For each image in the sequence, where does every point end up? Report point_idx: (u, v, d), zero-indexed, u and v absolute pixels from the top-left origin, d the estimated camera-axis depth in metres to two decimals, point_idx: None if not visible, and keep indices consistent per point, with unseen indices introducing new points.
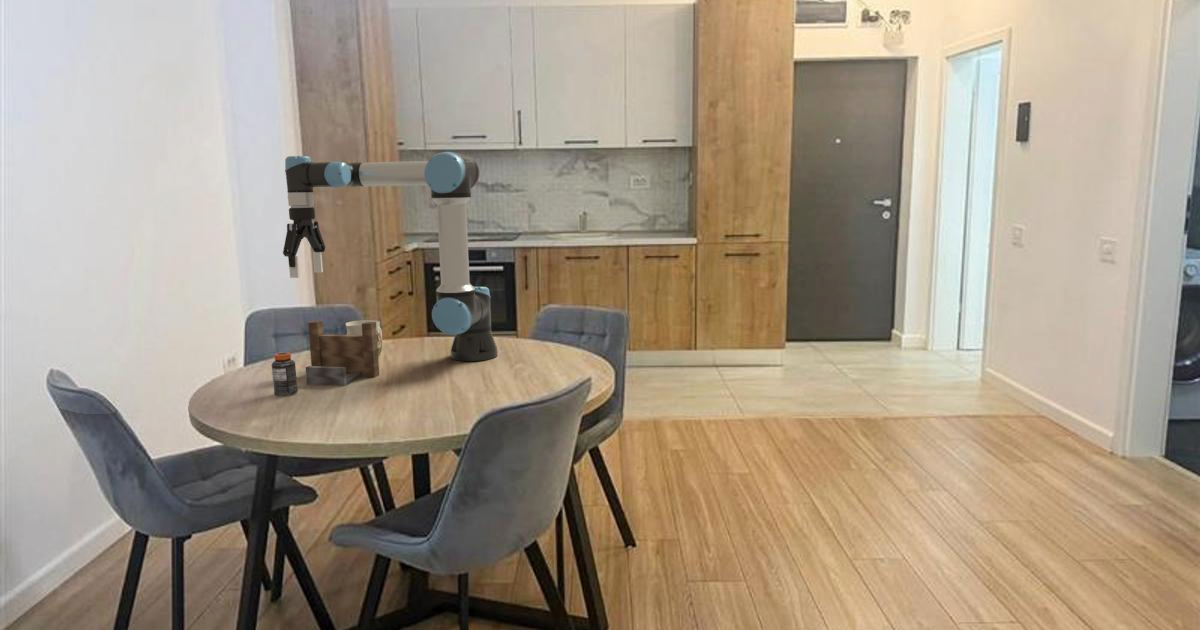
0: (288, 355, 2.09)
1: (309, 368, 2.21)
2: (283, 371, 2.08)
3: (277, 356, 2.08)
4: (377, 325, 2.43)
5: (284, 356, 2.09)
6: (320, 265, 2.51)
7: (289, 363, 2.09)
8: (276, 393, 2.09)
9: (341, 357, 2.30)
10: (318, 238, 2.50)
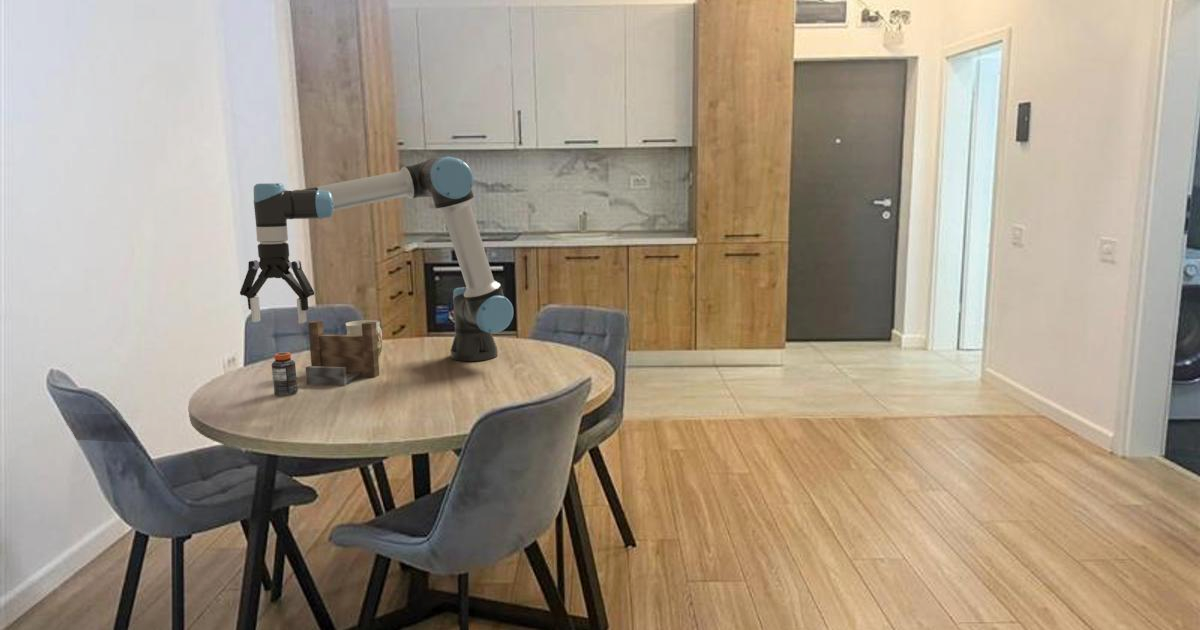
0: (288, 355, 2.09)
1: (309, 368, 2.21)
2: (283, 371, 2.08)
3: (277, 356, 2.08)
4: (377, 325, 2.43)
5: (284, 356, 2.09)
6: None
7: (289, 363, 2.09)
8: (276, 393, 2.09)
9: (341, 357, 2.30)
10: None
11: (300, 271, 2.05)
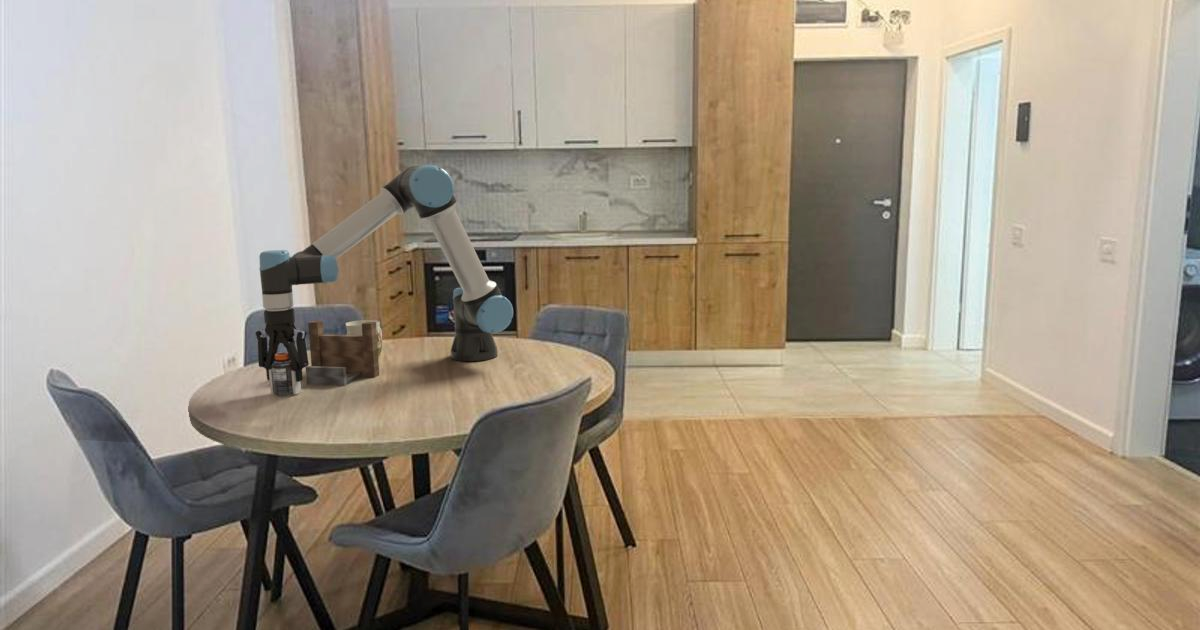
0: (288, 355, 2.09)
1: (309, 368, 2.21)
2: (283, 371, 2.08)
3: (277, 356, 2.08)
4: (377, 325, 2.43)
5: (284, 356, 2.09)
6: None
7: (289, 363, 2.09)
8: (276, 393, 2.09)
9: (341, 357, 2.30)
10: None
11: (303, 342, 2.08)
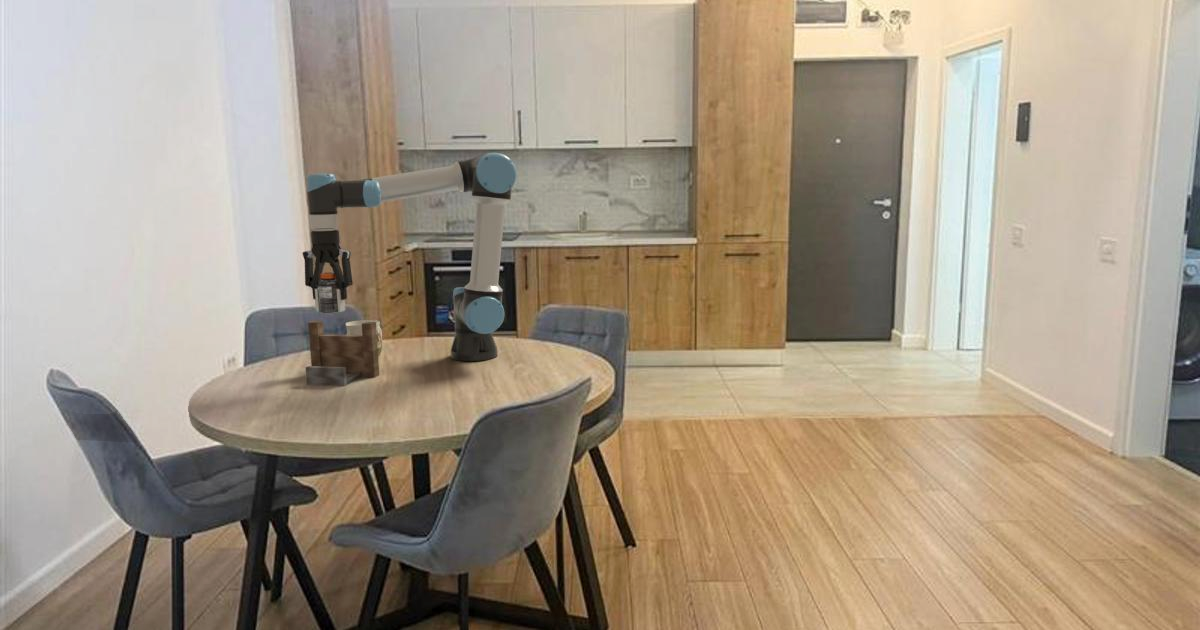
0: (333, 274, 2.20)
1: (309, 368, 2.21)
2: (329, 289, 2.19)
3: (323, 275, 2.19)
4: (377, 325, 2.43)
5: (330, 275, 2.19)
6: None
7: (334, 282, 2.20)
8: (322, 310, 2.20)
9: (341, 357, 2.30)
10: None
11: (347, 261, 2.19)
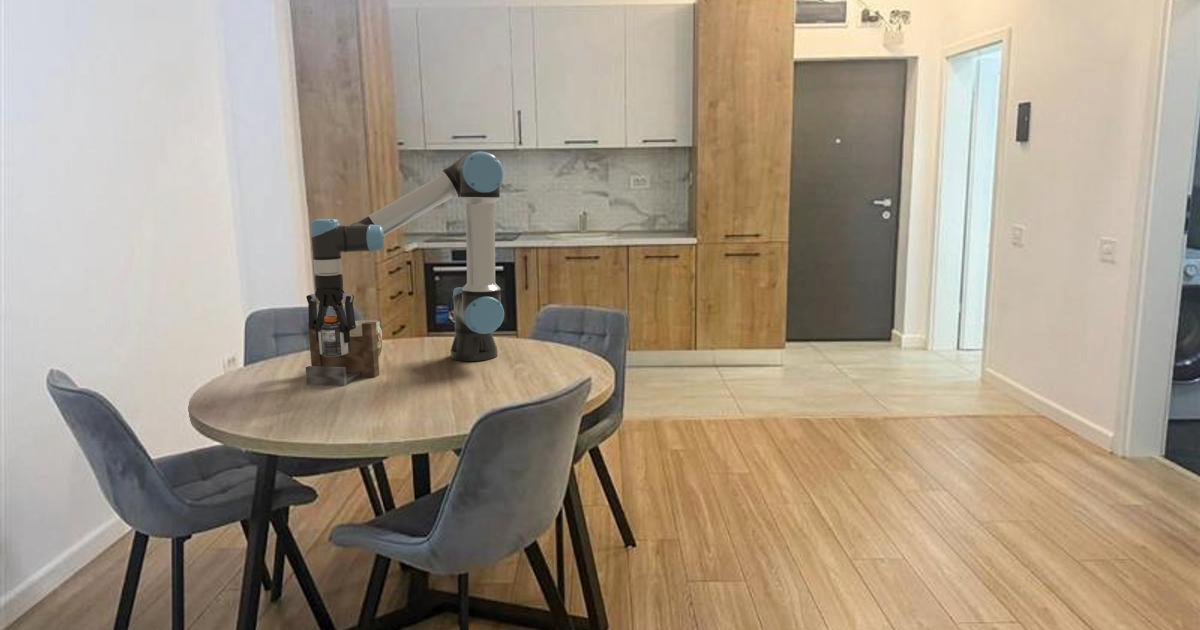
0: (337, 318, 2.23)
1: (309, 368, 2.21)
2: (333, 333, 2.21)
3: (327, 318, 2.21)
4: (377, 325, 2.43)
5: (333, 318, 2.22)
6: None
7: (338, 325, 2.22)
8: (325, 353, 2.23)
9: (341, 357, 2.30)
10: None
11: (351, 305, 2.22)
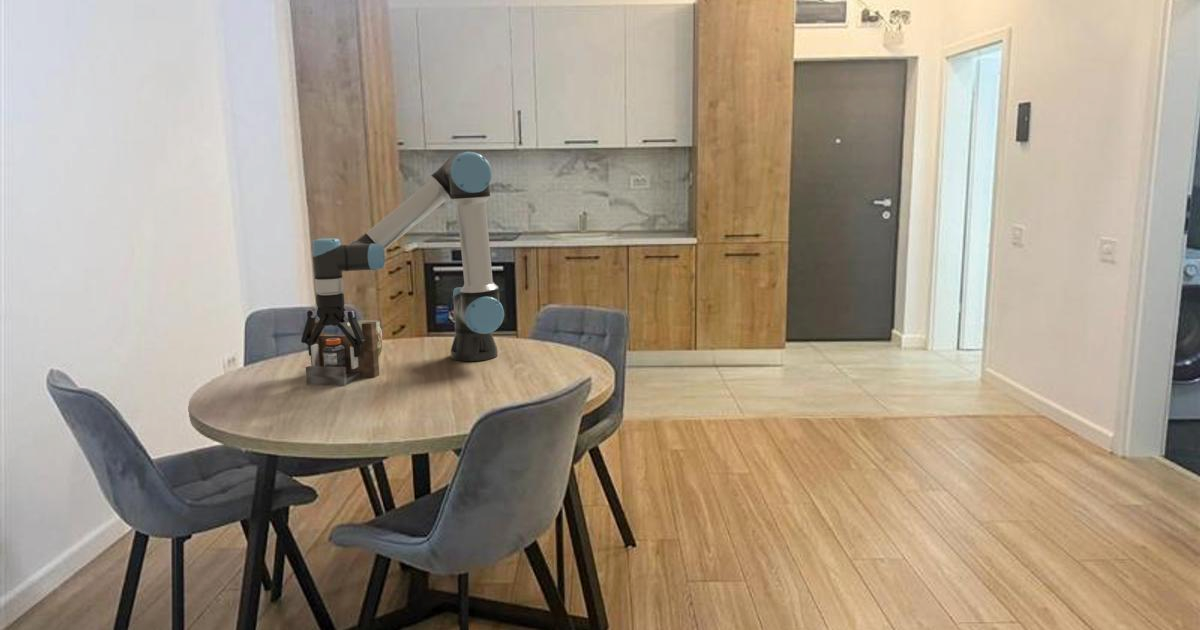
0: (338, 340, 2.24)
1: (309, 368, 2.21)
2: (334, 356, 2.22)
3: (328, 341, 2.23)
4: (377, 325, 2.43)
5: (335, 341, 2.23)
6: None
7: (339, 348, 2.23)
8: None
9: None
10: None
11: (354, 320, 2.22)
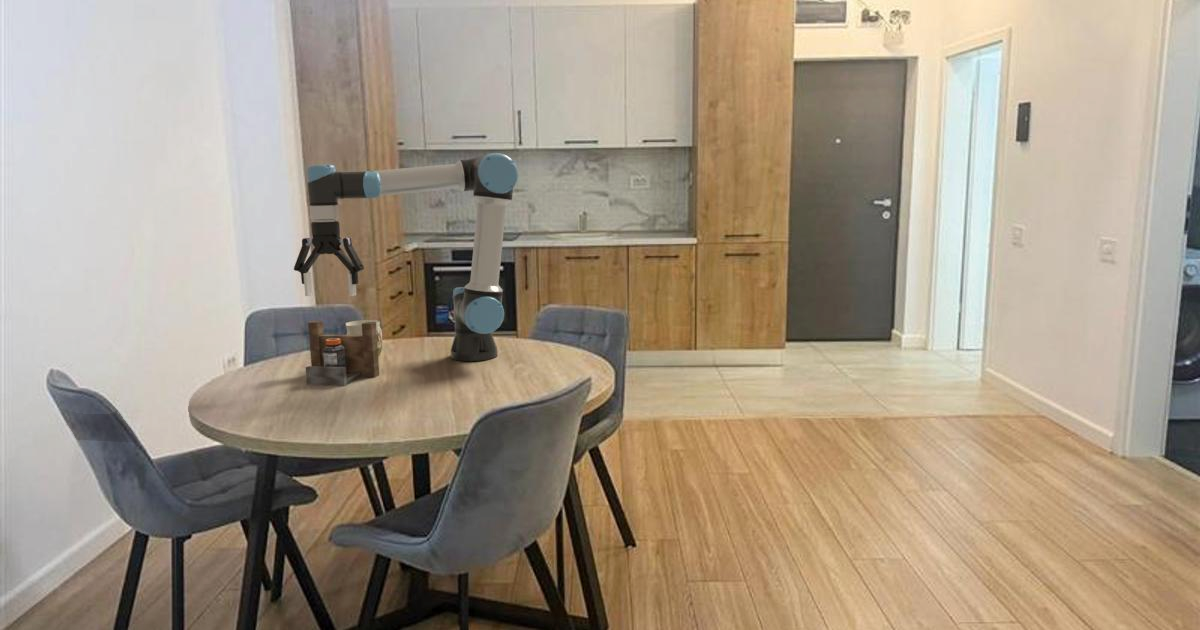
0: (338, 340, 2.24)
1: (309, 368, 2.21)
2: (334, 356, 2.22)
3: (328, 341, 2.23)
4: (377, 325, 2.43)
5: (335, 341, 2.23)
6: None
7: (339, 348, 2.23)
8: None
9: None
10: None
11: (351, 247, 2.19)
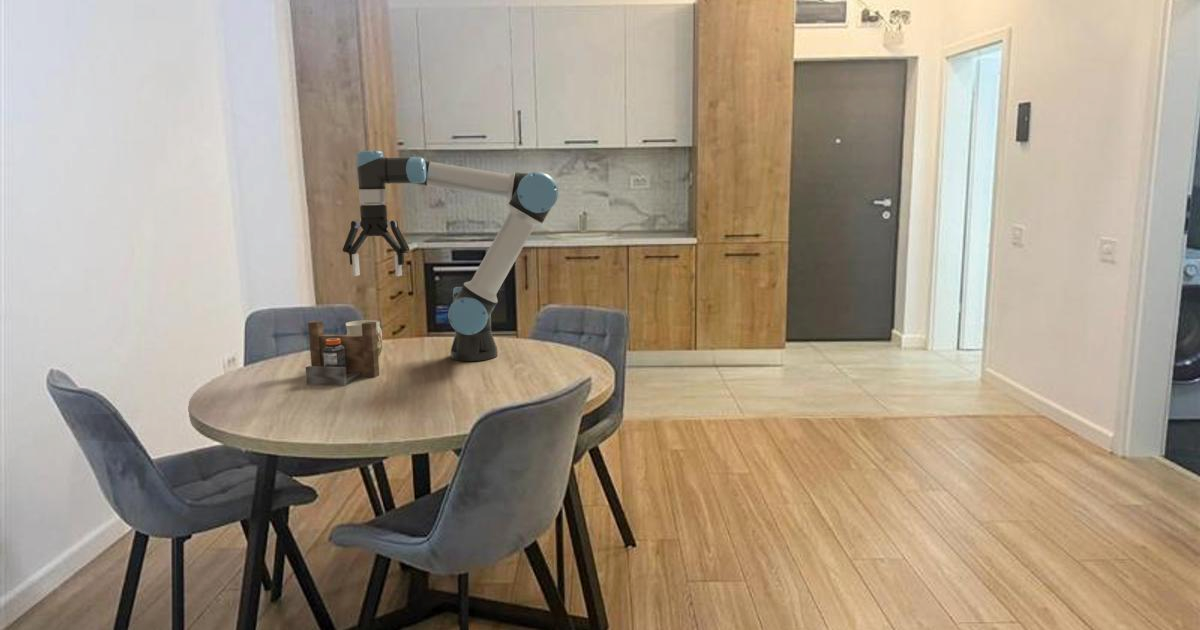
0: (338, 340, 2.24)
1: (309, 368, 2.21)
2: (334, 356, 2.22)
3: (328, 341, 2.23)
4: (377, 325, 2.43)
5: (335, 341, 2.23)
6: None
7: (339, 348, 2.23)
8: None
9: None
10: None
11: (397, 229, 2.30)
